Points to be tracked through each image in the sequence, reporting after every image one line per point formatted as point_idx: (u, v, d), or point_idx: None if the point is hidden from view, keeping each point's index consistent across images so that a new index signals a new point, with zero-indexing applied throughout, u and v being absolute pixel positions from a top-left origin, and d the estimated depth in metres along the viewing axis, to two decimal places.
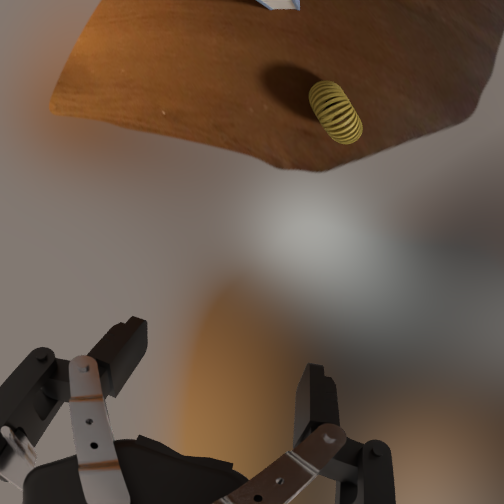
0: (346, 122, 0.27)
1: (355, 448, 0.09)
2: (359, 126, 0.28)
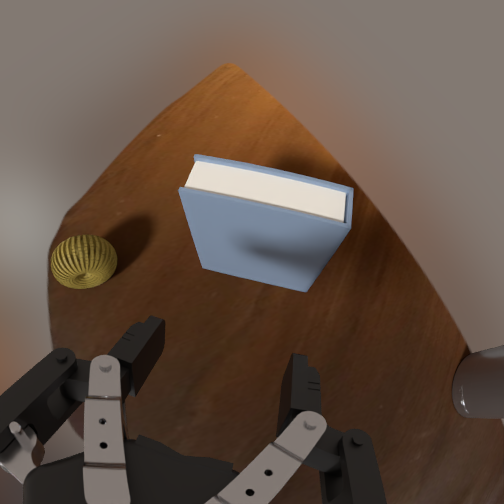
0: (63, 256, 0.25)
1: (336, 437, 0.09)
2: (60, 273, 0.26)
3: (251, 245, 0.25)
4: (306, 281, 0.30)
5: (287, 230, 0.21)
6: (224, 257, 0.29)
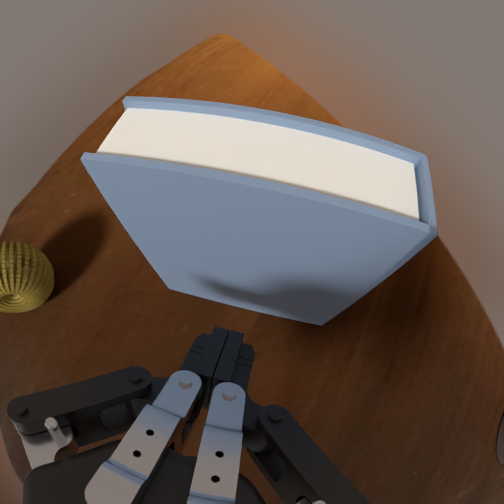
0: None
1: (257, 411, 0.10)
2: None
3: (232, 262, 0.14)
4: (324, 314, 0.18)
5: (301, 236, 0.10)
6: (194, 277, 0.18)
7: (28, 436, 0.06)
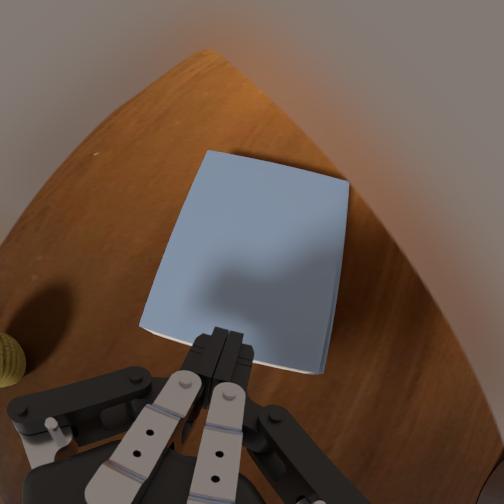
0: None
1: (257, 411, 0.10)
2: None
3: (252, 226, 0.21)
4: (323, 320, 0.18)
5: (297, 190, 0.22)
6: (200, 270, 0.19)
7: (28, 436, 0.06)
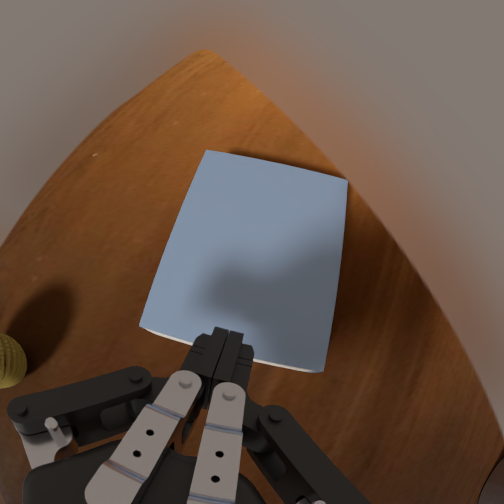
0: None
1: (257, 411, 0.10)
2: None
3: (251, 225, 0.21)
4: (322, 318, 0.18)
5: (296, 189, 0.22)
6: (200, 269, 0.19)
7: (28, 436, 0.06)
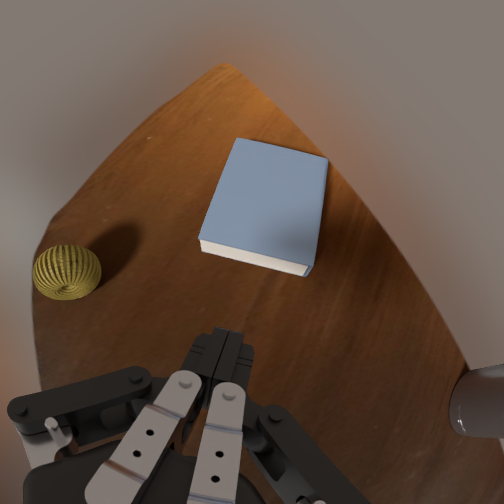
0: (44, 267, 0.23)
1: (257, 412, 0.10)
2: (41, 285, 0.23)
3: (267, 182, 0.33)
4: (311, 235, 0.31)
5: (295, 163, 0.35)
6: (236, 206, 0.32)
7: (28, 436, 0.06)
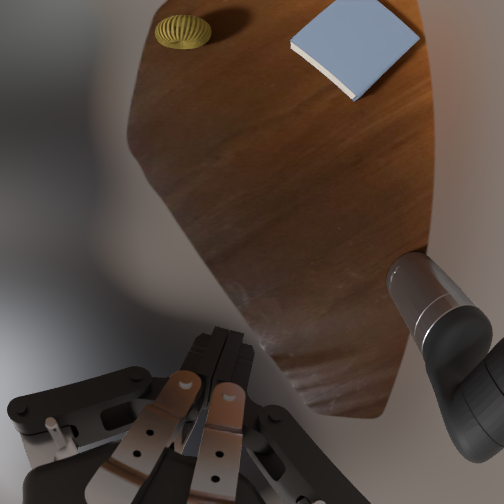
0: (167, 28, 0.28)
1: (257, 411, 0.10)
2: (161, 38, 0.30)
3: (360, 28, 0.29)
4: (370, 79, 0.32)
5: (391, 26, 0.28)
6: (328, 32, 0.30)
7: (28, 436, 0.06)
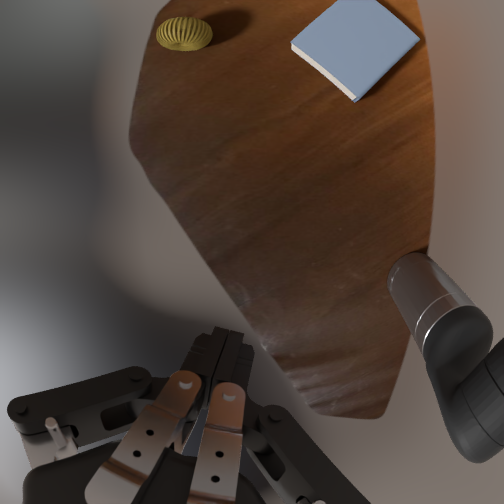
0: (169, 30, 0.29)
1: (257, 411, 0.10)
2: (162, 40, 0.31)
3: (361, 29, 0.29)
4: (371, 80, 0.32)
5: (391, 27, 0.28)
6: (329, 33, 0.30)
7: (28, 436, 0.06)
